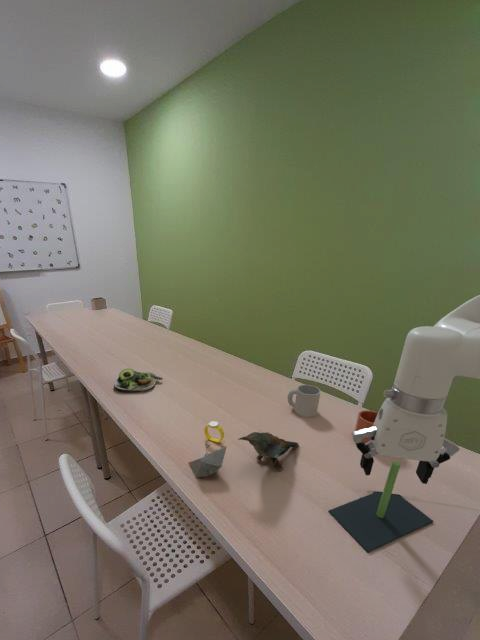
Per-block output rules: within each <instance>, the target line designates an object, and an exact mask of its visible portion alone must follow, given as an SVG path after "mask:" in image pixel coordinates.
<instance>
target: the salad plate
mask: <svg viewBox="0 0 480 640" xmlns="http://www.w3.org/2000/svg"><path fill="white" fill-rule="evenodd" d="M162 380H164V378H163V377H160V376H157V375H156V374H155V373H153V372H150V371H146V372H145V371H144V372H139V371H136V370H134V369H132V368H124V369H122V370H120V371H119V374H118V378H116V381H115V383H114V384H113V387H114V389H115V390H117V391H118V392H123V393H127V392H128V393H134V392H136V393H137V392H145V391H149V390H151V389H152V388H154V387H155V385H156V383H157V382H158V381H162Z"/></svg>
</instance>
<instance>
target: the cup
mask: <svg viewBox="0 0 480 640" xmlns="http://www.w3.org/2000/svg"><path fill="white" fill-rule="evenodd" d="M294 395H295V401H294V400H293V397H294ZM320 396H321V389H320V388H319V387H318V386H315V385H311V384H300V385H297V387H296V389H294V388H293V389H291V390H289V392H288V394H287V402H288V405H289V406H290V407H292V408H293V409H294V413H295V414H296V415H298V416H300V417H302V418H314V417H317V415H318V410H319V403H320V398H321V397H320Z"/></svg>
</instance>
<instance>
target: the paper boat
mask: <svg viewBox="0 0 480 640" xmlns="http://www.w3.org/2000/svg"><path fill="white" fill-rule="evenodd" d="M209 447H211V444H205V451H206V452H205V454H204V456H203V457H201V458H198V459H195V460H192V461H190V462H188V465H189V467H190V469H191V471H192V472H193V475H194V477H195V478H204V477H209V476H211V475H214V474H215V473H216V472H217V471H218V470H220V469H221V468H222V467H223V463H224V458H225V455H226V451H227V447H228V445H226V446H223V447H221V448H219V449H217V450H215V451H213V452H211V453H208V450H207V449H208V448H209Z"/></svg>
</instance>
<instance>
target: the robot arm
mask: <svg viewBox="0 0 480 640" xmlns="http://www.w3.org/2000/svg"><path fill="white" fill-rule="evenodd" d="M455 377H465V378H471V379H477V380H480V294H479V295H476V296H474V297H473V298H471V299H469V300H467V301H465V302H464V303H462V304H461V305H459V306H458V307H456V308H455V309H453V310H452V311H450V312H449V313H447V314H446V315H445V316H444V317H442V318H441V319H439V320H438V321H437V322H436V323H435V324H434V325H433V326H432V325H424V326H417V327H415V328H412V329H411V330H409V332H407V335H406V338H405V341H404V344H403V348H402V351H401V355H400V360H399V363H398V367H397V370H396V374H395V377H394V382H393V383H392V384H391V387H390V388H388V389H386V388H383V390H382V397H383V398H385V400H384V401H383V402H382V404H381V406H380V408H379V410H378V414H377V417H376V419H375V422H374V425H373V427H370V428H366V429H362V430H358V431H354V430H353V431H352V432H351V436H352V438H353V441H354V444H355V446H356V449H357V450H359V452H361V458H360V462H359V465H360V468H361V469H363V472H364V474H365V476H371V472H372V469H373V465H374V462H375V460H374V457H375V456H377V455H378V454H379V455H380V456H384V457H388V458H397V459H405V460H411V461H418V464H417V467H416V470H415V474H416V476H417V478H418V479H419V481H420V482H421V483H422V484H424V485H427V484H428V483H429V480H430V479H431V477H432V475H433V472H434V471H435V469H438V468H439V467H440V464H442V463H445V462H447V461H449V460H451V457H453V456H454V455H456V454H457V453H458V452H459V451H460V449H461V448H460V447H459V445H457V444H456V443H455V442H453V441H451V440H450V439H448V438H446V431H447V425H448V424H447V423H448V411H447V410H446V409H445V408H444V406H445V403H446V400H447V398H448V394H449V392H450V389H451V386H452V383H453V381H454V378H455ZM368 437H370V439H371V440H370V441H369V442H367V443H366V444H364V443H363V442H362V439H364V438H368ZM373 447H374V448H373Z"/></svg>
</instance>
